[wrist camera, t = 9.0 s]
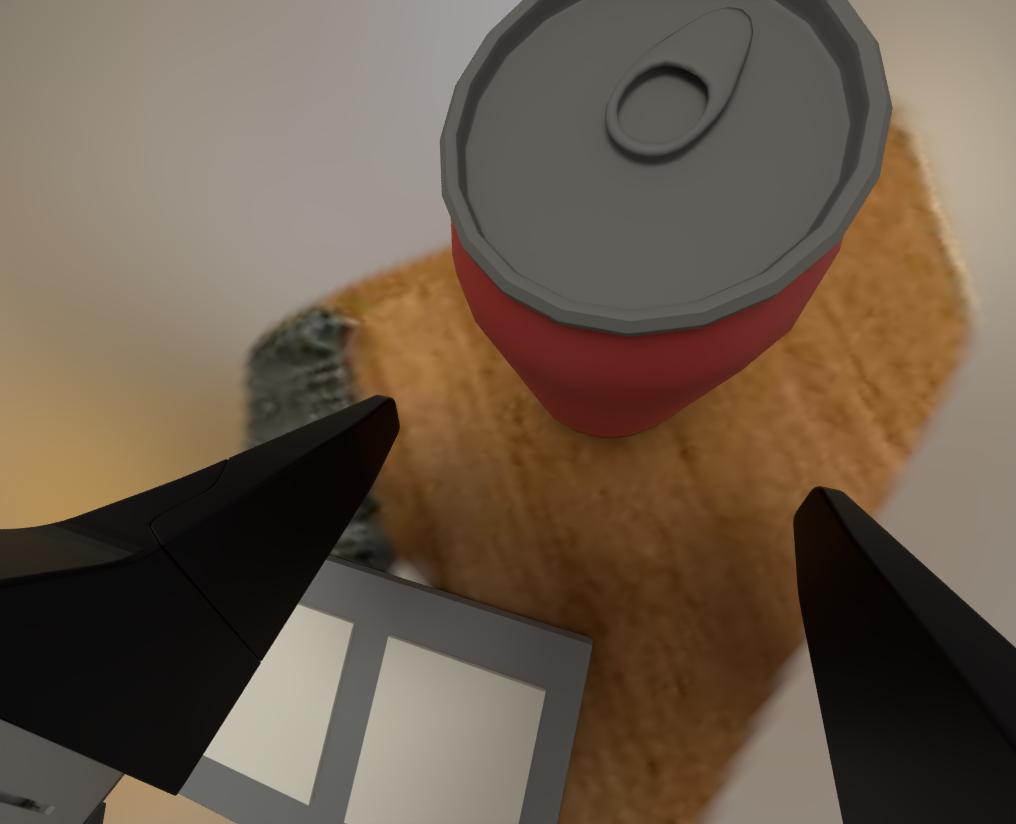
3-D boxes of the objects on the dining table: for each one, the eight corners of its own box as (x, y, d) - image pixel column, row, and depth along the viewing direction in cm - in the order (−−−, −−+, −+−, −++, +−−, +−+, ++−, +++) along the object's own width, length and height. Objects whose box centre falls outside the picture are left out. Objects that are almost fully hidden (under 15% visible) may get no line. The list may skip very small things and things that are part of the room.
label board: (530, 952, 15) (526, 979, 14) (162, 768, 19) (143, 781, 18) (592, 638, 16) (592, 647, 15) (230, 523, 19) (215, 525, 19)
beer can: (731, 345, 16) (1100, 21, 4) (619, 473, 16) (687, 490, 5) (598, 252, 18) (608, -170, 6) (497, 370, 18) (316, 187, 6)
